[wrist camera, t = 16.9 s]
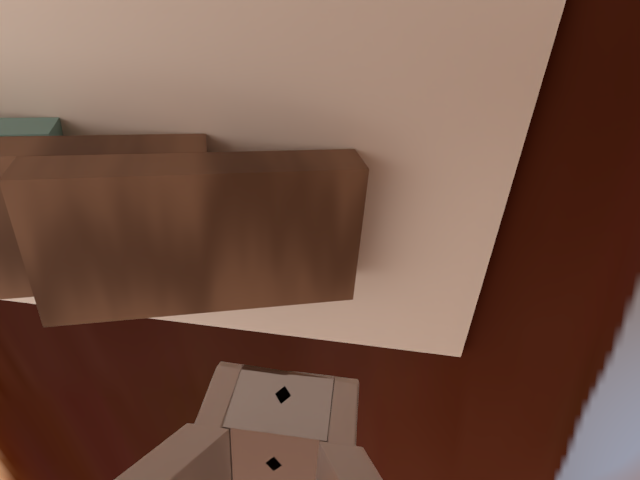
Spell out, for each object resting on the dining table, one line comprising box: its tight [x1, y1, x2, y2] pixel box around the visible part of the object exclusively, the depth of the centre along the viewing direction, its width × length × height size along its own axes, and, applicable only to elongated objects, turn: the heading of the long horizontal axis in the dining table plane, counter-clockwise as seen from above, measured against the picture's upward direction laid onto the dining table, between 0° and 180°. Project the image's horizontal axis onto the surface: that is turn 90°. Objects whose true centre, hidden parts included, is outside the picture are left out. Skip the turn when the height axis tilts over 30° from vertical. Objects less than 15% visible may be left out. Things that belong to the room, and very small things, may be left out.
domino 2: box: [0, 149, 369, 327], centre depth 16 cm, size 5×2×10 cm
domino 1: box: [0, 134, 207, 299], centre depth 16 cm, size 5×2×10 cm
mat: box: [0, 0, 566, 357], centre depth 15 cm, size 24×30×1 cm
